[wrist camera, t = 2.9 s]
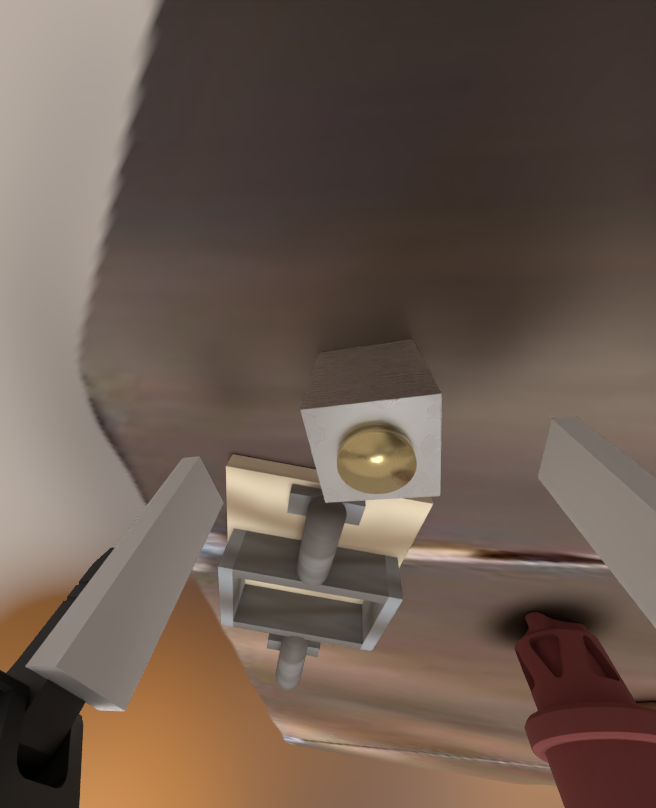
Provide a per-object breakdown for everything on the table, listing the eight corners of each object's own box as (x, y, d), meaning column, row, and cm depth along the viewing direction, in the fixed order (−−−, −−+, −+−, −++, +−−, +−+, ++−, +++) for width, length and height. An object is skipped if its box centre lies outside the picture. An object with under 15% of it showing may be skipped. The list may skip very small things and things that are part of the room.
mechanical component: (519, 655, 32) (471, 618, 29) (621, 633, 28) (579, 587, 25) (601, 865, 21) (539, 844, 18) (785, 879, 17) (748, 855, 14)
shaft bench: (232, 454, 20) (189, 530, 15) (429, 490, 20) (454, 577, 15) (234, 605, 31) (210, 678, 26) (359, 627, 31) (360, 704, 26)
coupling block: (318, 352, 16) (297, 418, 10) (412, 338, 15) (446, 402, 9) (334, 426, 18) (324, 513, 13) (415, 418, 17) (443, 507, 12)
